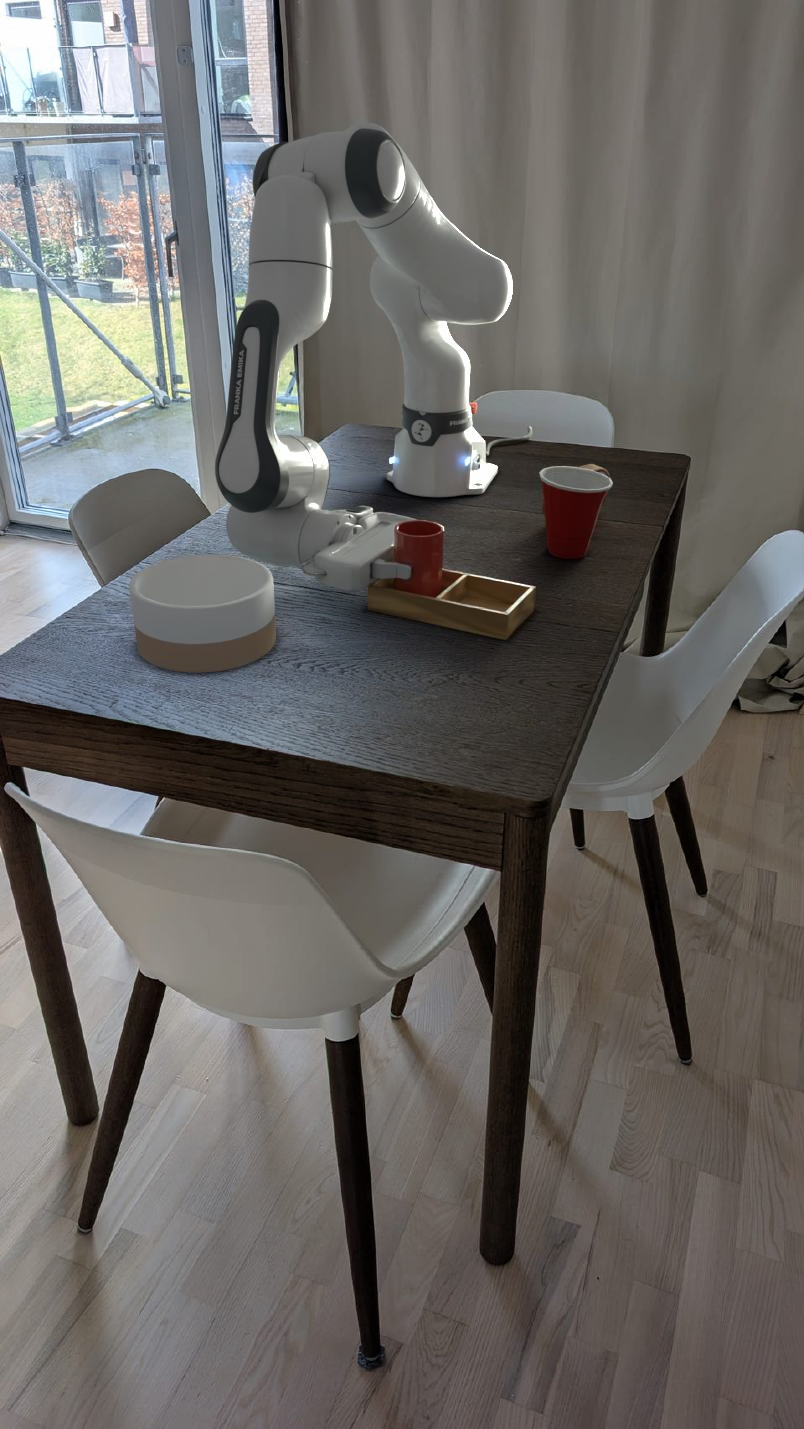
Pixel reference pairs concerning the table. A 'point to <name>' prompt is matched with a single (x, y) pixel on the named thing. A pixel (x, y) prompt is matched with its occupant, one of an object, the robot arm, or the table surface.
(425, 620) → the caddy
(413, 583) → the cup
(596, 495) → the plastic cup
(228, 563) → the bowl
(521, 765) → the table surface
